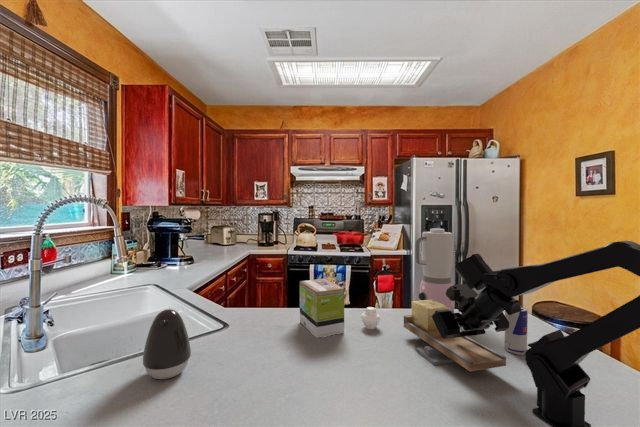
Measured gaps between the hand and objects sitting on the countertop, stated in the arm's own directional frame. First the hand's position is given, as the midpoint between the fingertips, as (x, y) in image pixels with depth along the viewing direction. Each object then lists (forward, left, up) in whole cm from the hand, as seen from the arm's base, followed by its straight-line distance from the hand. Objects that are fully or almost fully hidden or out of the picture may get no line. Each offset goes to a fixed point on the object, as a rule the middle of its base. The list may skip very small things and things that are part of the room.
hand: (454, 335), depth 82 cm
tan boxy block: (+10, 0, -2) cm, 11 cm away
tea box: (+30, +28, -6) cm, 41 cm away
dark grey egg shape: (+12, +71, -6) cm, 72 cm away
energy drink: (0, -20, -6) cm, 21 cm away
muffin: (+26, +12, -6) cm, 29 cm away
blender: (+33, -17, -6) cm, 37 cm away
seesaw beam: (+3, 0, -3) cm, 4 cm away
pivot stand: (+3, 0, -6) cm, 7 cm away
